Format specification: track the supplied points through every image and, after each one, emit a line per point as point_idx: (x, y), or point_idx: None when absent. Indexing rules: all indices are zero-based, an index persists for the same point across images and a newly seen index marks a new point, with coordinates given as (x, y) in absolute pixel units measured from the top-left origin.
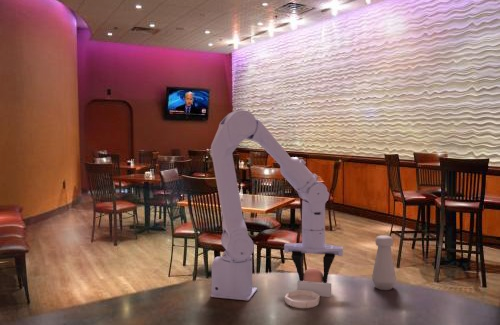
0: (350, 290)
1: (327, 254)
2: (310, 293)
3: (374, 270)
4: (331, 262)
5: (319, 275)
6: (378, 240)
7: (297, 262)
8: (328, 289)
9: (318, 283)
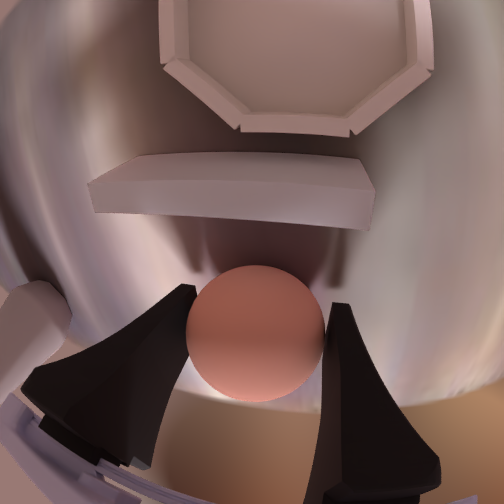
0: (103, 268)
1: (75, 447)
2: (246, 111)
3: (28, 336)
4: (45, 366)
5: (193, 323)
6: None
7: (378, 430)
8: (121, 169)
9: (167, 187)
